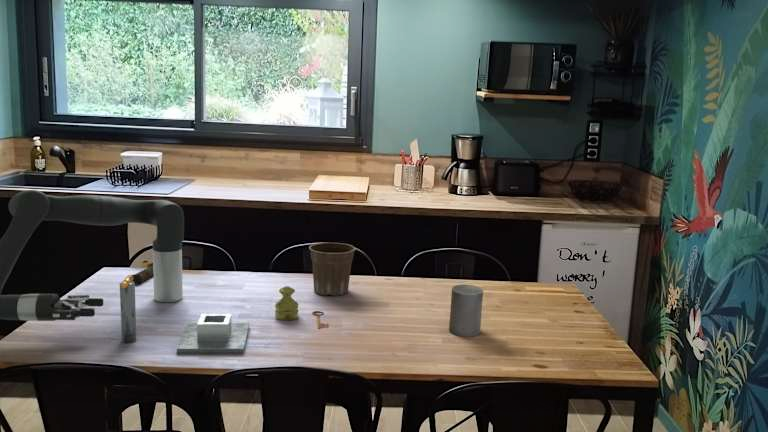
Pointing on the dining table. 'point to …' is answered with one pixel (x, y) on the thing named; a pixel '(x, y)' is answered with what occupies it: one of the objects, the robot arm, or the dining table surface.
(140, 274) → the hand tool
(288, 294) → the green scale weight
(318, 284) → the plant pot
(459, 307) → the pillar candle
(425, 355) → the dining table surface
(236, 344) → the candle holder
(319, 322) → the key
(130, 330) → the silver grey upright block
